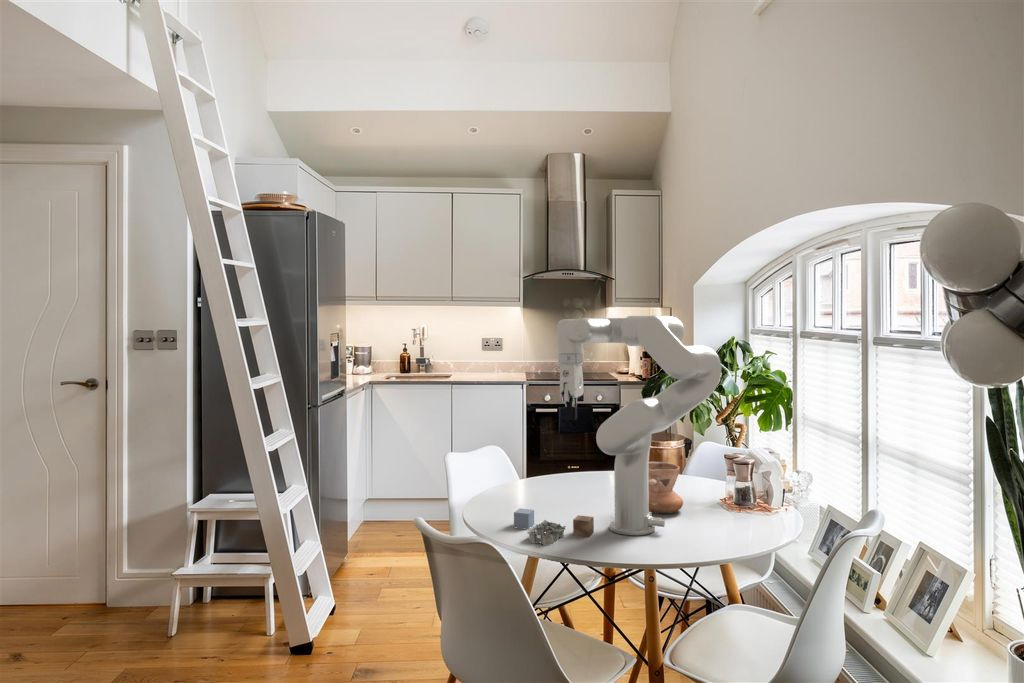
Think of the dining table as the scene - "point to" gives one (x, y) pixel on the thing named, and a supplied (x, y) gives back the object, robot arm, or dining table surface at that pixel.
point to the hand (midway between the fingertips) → (571, 419)
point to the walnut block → (583, 526)
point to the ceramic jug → (663, 488)
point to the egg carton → (551, 531)
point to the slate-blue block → (524, 518)
